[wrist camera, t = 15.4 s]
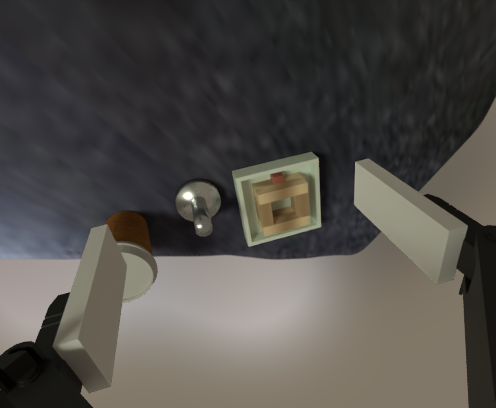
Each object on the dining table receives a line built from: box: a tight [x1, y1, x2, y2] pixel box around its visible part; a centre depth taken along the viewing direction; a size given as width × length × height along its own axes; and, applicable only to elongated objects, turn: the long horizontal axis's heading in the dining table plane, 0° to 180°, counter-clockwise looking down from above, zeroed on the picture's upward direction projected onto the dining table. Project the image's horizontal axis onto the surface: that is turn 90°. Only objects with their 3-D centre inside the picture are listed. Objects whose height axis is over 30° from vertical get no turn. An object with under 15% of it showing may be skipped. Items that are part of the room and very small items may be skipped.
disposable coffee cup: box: [105, 211, 157, 303], centre depth 46 cm, size 10×10×12 cm
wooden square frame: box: [252, 172, 310, 236], centre depth 52 cm, size 8×9×4 cm
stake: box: [176, 179, 221, 237], centre depth 48 cm, size 7×7×9 cm
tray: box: [232, 152, 321, 246], centre depth 54 cm, size 13×13×3 cm
